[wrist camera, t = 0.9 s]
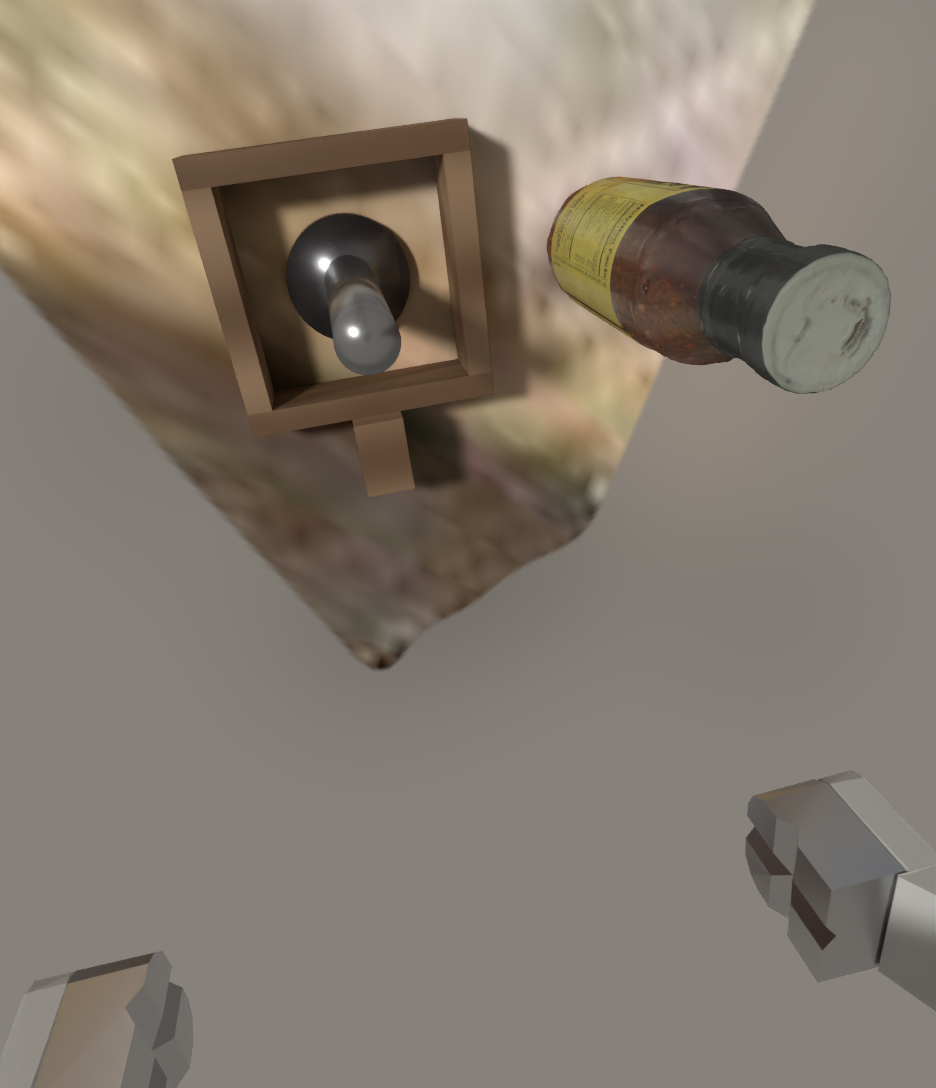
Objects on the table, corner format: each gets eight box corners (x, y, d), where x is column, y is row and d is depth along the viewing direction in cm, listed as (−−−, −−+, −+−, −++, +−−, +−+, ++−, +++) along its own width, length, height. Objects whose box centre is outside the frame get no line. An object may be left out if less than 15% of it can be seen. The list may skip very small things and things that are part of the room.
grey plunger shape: (273, 222, 34) (261, 267, 24) (397, 204, 34) (438, 240, 24) (302, 347, 37) (303, 434, 27) (416, 328, 37) (459, 406, 27)
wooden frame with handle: (182, 155, 32) (168, 160, 28) (454, 118, 33) (471, 118, 30) (276, 482, 40) (274, 515, 37) (488, 442, 42) (505, 470, 38)
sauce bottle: (675, 243, 38) (970, 343, 21) (585, 327, 39) (796, 482, 23) (608, 138, 35) (893, 158, 18) (512, 233, 36) (695, 333, 19)
